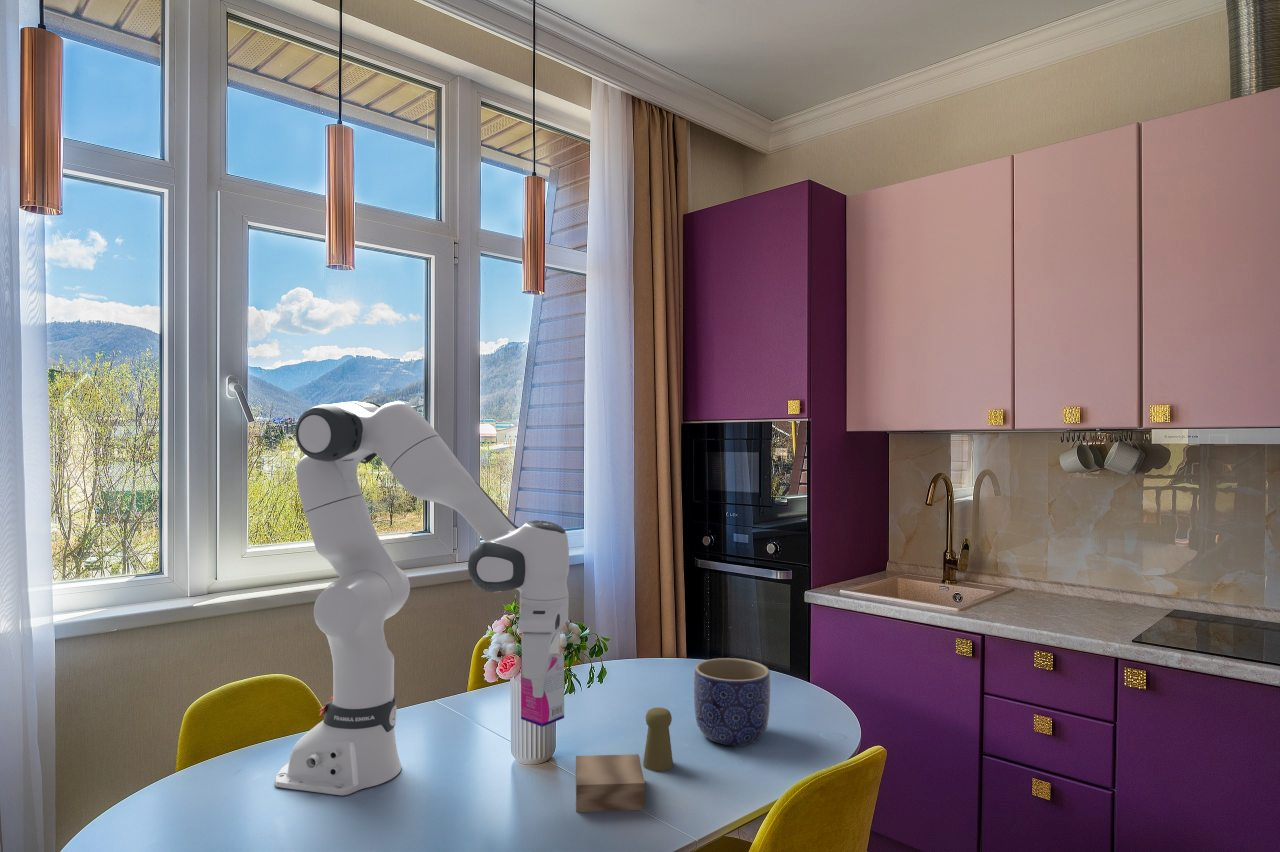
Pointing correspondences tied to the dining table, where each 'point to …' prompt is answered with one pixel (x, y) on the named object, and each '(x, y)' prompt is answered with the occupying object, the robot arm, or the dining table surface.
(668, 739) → the olive pawn
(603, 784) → the walnut block
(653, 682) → the dining table surface
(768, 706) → the planter
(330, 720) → the robot arm
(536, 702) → the supplement box
